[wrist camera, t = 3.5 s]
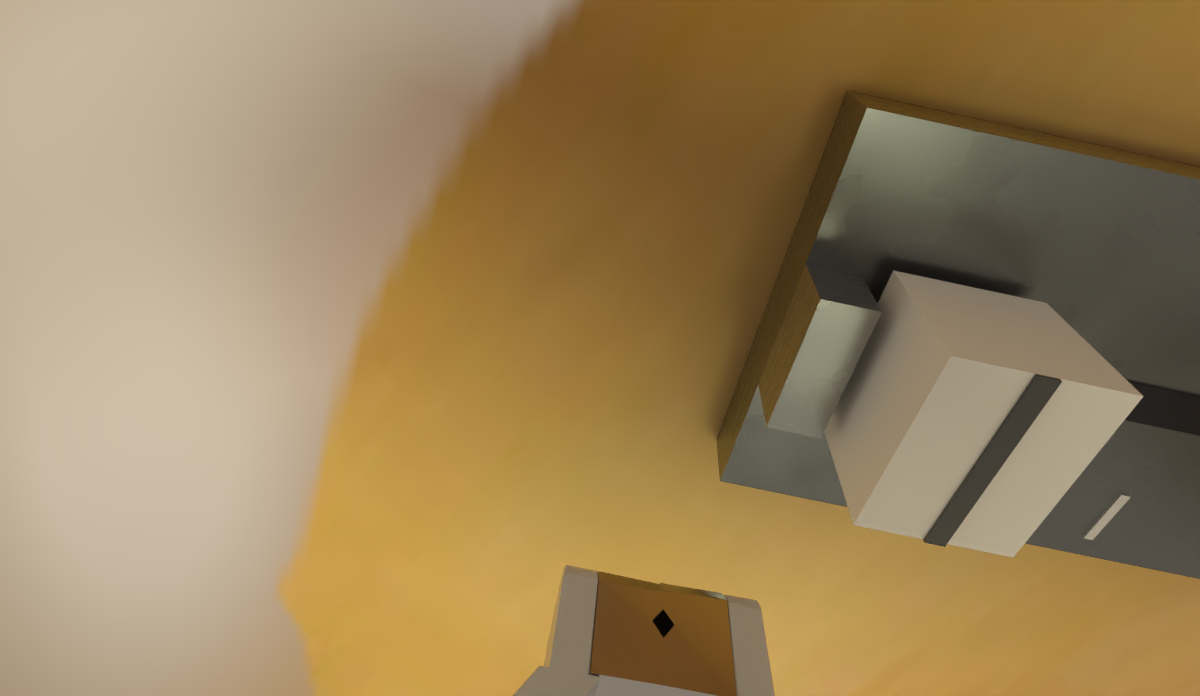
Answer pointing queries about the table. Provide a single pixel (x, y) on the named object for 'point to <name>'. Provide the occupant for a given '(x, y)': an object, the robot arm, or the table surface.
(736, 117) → the table surface
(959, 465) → the fader knob
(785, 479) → the fader console
